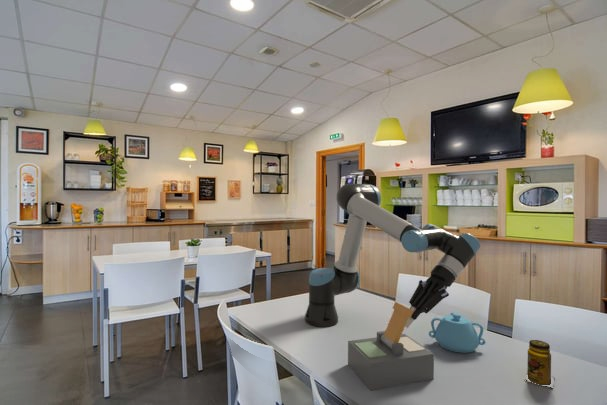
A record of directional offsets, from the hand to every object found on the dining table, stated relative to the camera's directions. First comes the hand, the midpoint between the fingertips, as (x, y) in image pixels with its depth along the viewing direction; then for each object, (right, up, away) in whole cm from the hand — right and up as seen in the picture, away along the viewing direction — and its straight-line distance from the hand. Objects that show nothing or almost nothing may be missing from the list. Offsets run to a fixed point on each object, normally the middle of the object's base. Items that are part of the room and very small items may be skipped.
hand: (404, 324), depth 111 cm
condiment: (+41, -16, -5) cm, 44 cm away
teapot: (+26, -15, +20) cm, 36 cm away
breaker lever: (-6, -6, -1) cm, 9 cm away
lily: (+2, -15, +21) cm, 25 cm away
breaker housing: (-5, -15, -1) cm, 16 cm away
